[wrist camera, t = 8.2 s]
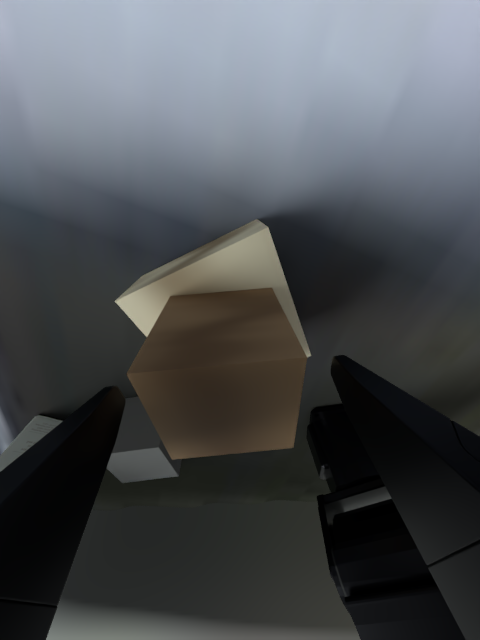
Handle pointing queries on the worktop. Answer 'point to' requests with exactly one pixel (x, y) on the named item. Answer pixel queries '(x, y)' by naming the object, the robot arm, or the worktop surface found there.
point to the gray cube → (140, 448)
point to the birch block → (214, 276)
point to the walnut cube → (221, 374)
